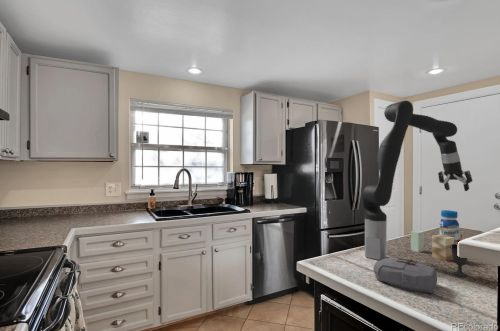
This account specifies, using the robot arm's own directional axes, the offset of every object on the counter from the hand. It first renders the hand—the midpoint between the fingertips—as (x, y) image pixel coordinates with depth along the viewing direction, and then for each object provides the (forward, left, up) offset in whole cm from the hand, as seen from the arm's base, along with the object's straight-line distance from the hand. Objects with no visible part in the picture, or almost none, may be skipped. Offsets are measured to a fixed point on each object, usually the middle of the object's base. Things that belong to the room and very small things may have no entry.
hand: (457, 190), depth 140 cm
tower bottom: (-25, +5, -31) cm, 40 cm away
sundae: (-45, -1, -31) cm, 55 cm away
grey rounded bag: (-68, +16, -31) cm, 77 cm away
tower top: (-25, +5, -26) cm, 36 cm away
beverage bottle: (-7, +3, -31) cm, 32 cm away
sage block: (-19, +16, -30) cm, 39 cm away
